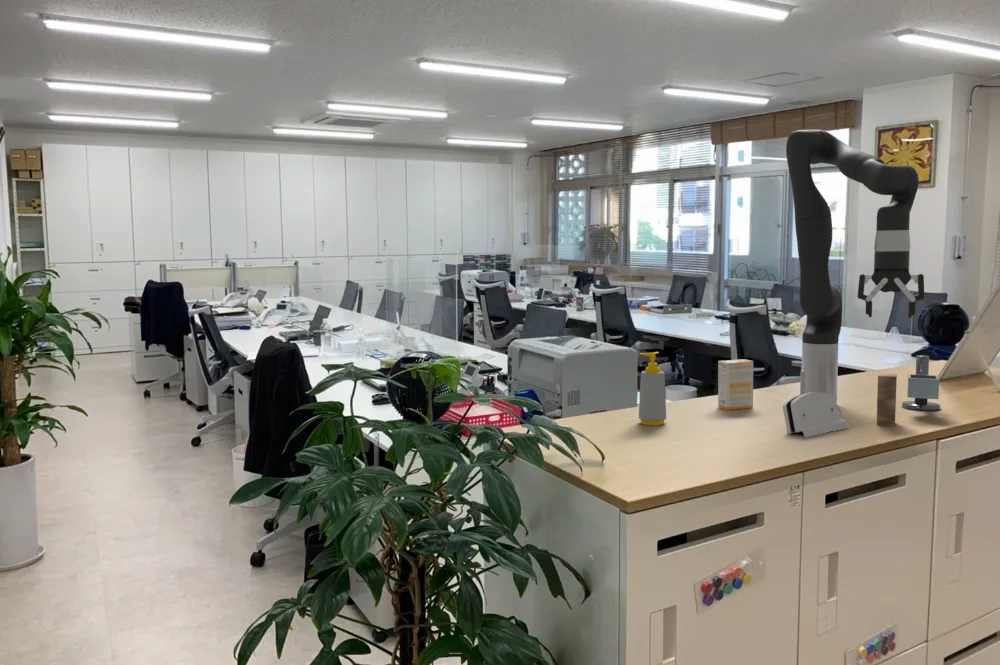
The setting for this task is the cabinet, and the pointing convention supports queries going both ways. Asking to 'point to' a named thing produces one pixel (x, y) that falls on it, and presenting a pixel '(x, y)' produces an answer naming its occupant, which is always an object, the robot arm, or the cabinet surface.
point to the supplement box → (735, 384)
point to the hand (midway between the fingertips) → (889, 317)
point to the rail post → (886, 399)
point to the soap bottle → (652, 394)
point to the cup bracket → (922, 387)
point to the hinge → (813, 414)
